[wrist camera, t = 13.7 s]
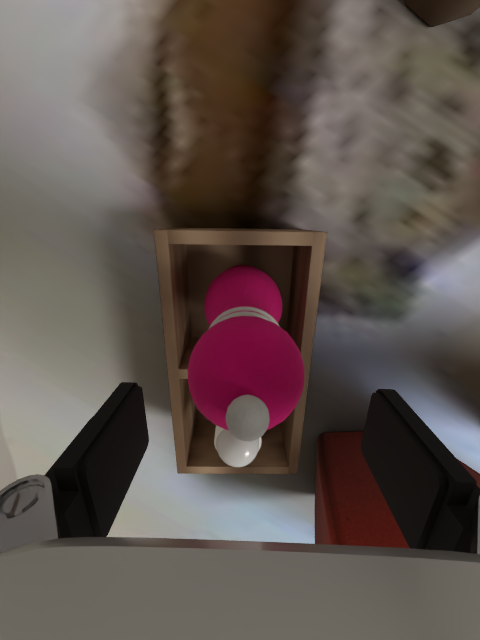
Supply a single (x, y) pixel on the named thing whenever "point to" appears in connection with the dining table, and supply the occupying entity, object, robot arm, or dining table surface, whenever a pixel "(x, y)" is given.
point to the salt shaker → (235, 448)
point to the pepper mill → (245, 356)
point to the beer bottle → (442, 9)
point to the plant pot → (353, 496)
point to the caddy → (190, 324)
